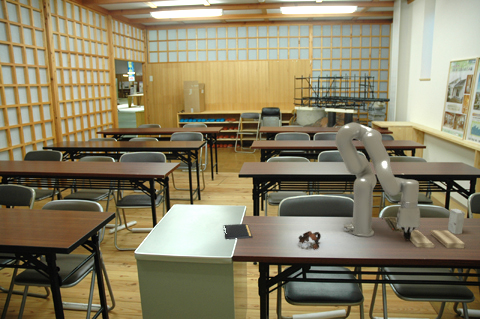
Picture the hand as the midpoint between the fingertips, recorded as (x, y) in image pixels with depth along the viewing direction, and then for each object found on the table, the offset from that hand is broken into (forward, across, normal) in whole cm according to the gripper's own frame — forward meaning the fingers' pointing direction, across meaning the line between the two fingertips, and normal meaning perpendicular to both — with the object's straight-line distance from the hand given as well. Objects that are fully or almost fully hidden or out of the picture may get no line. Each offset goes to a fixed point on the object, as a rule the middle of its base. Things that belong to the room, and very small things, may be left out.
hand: (406, 238), depth 180 cm
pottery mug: (+1, -49, -7) cm, 50 cm away
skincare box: (+2, +30, +12) cm, 33 cm away
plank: (+1, +6, 0) cm, 6 cm away
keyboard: (+2, 0, +22) cm, 22 cm away
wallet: (+1, -88, +9) cm, 88 cm away
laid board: (+1, +20, 0) cm, 20 cm away
